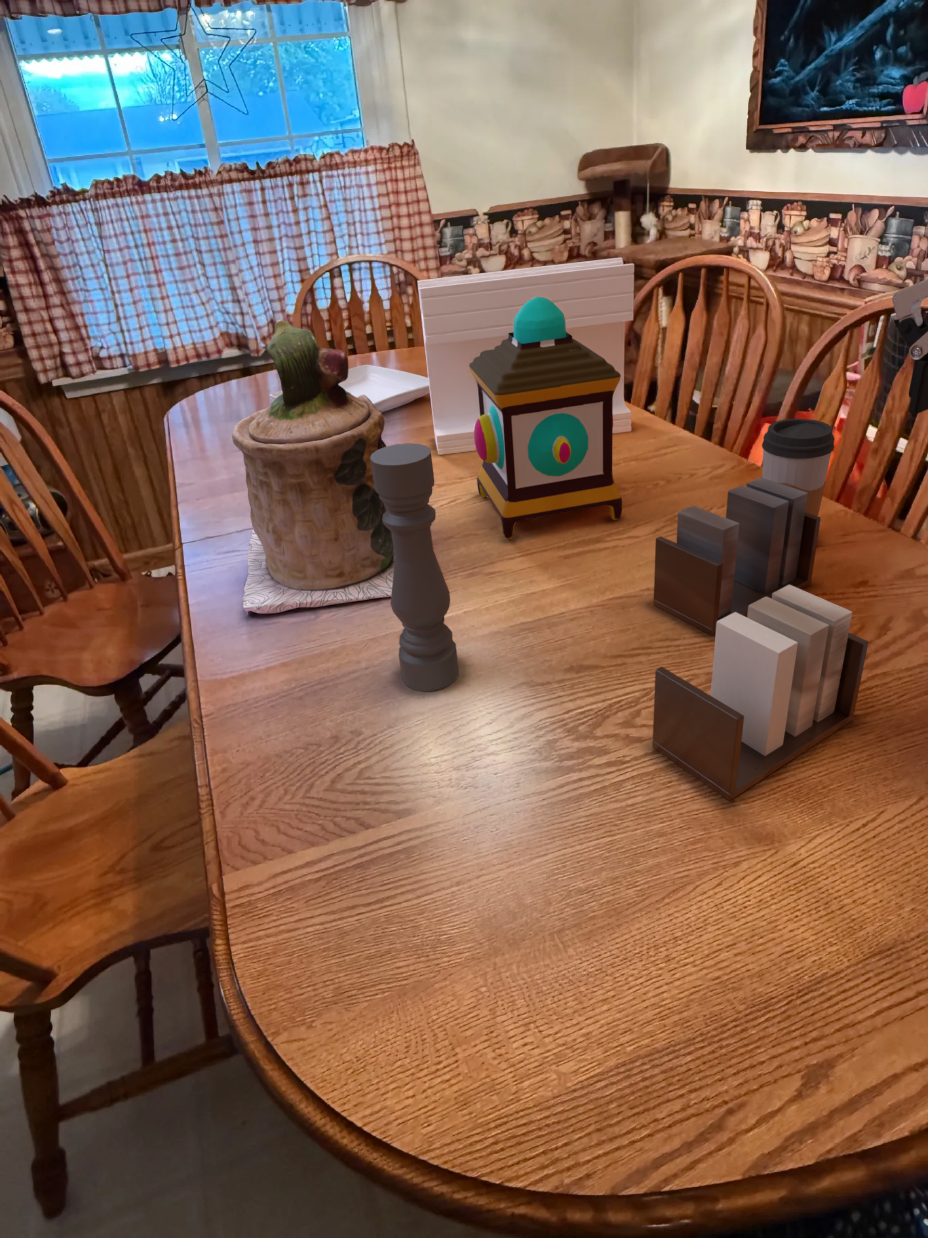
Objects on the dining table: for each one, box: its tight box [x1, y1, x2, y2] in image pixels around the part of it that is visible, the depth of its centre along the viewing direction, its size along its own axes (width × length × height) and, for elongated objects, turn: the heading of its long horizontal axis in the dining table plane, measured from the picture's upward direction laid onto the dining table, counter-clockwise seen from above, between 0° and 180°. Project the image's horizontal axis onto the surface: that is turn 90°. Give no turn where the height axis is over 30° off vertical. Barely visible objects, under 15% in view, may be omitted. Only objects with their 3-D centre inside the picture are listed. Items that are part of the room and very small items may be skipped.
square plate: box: [268, 364, 430, 414], centre depth 177 cm, size 27×27×4 cm
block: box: [417, 257, 635, 456], centre depth 143 cm, size 35×8×28 cm, turn 96°
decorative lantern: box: [469, 297, 623, 540], centre depth 115 cm, size 20×20×30 cm
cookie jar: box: [231, 319, 395, 615], centre depth 105 cm, size 25×25×32 cm
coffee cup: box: [761, 418, 835, 517], centre depth 104 cm, size 8×8×15 cm
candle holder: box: [370, 442, 460, 692], centre depth 82 cm, size 6×6×25 cm
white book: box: [709, 612, 798, 756], centre depth 72 cm, size 2×6×11 cm, turn 34°
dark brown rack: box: [651, 585, 869, 802], centre depth 73 cm, size 17×9×12 cm, turn 124°
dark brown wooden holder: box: [652, 477, 821, 637], centre depth 94 cm, size 17×9×12 cm, turn 124°
